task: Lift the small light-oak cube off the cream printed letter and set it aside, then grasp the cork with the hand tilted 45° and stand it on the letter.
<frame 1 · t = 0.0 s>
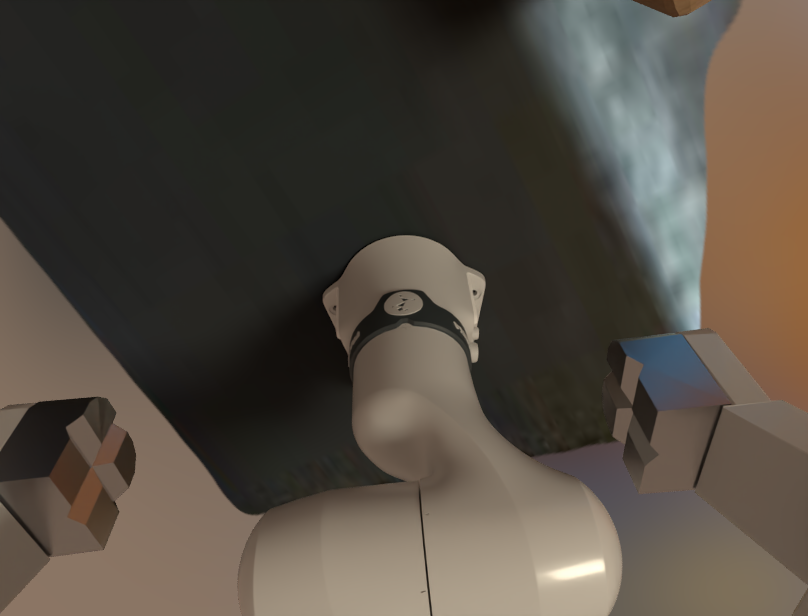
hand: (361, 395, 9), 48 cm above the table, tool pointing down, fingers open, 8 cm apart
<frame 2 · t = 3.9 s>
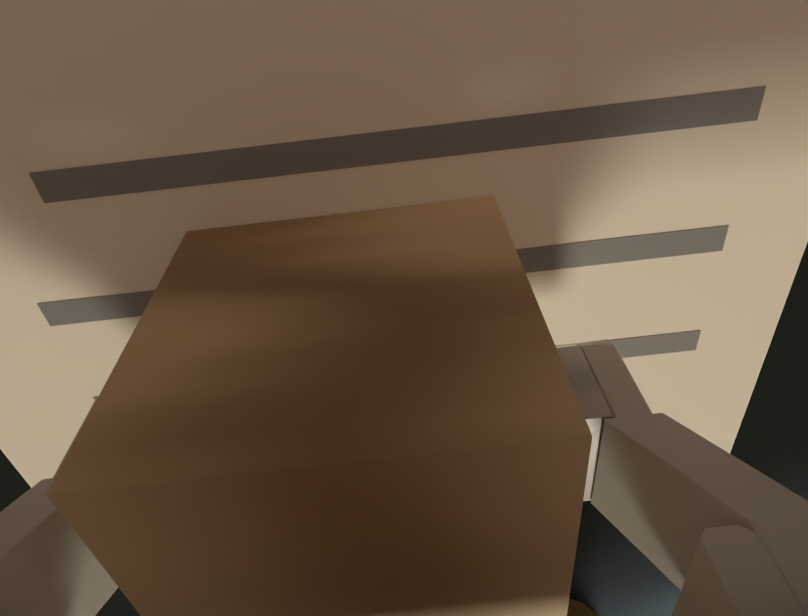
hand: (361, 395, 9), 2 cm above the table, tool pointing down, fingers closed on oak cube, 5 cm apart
letter: (362, 323, 11), on the table
oak cube: (361, 333, 11), resting on letter, touching gripper
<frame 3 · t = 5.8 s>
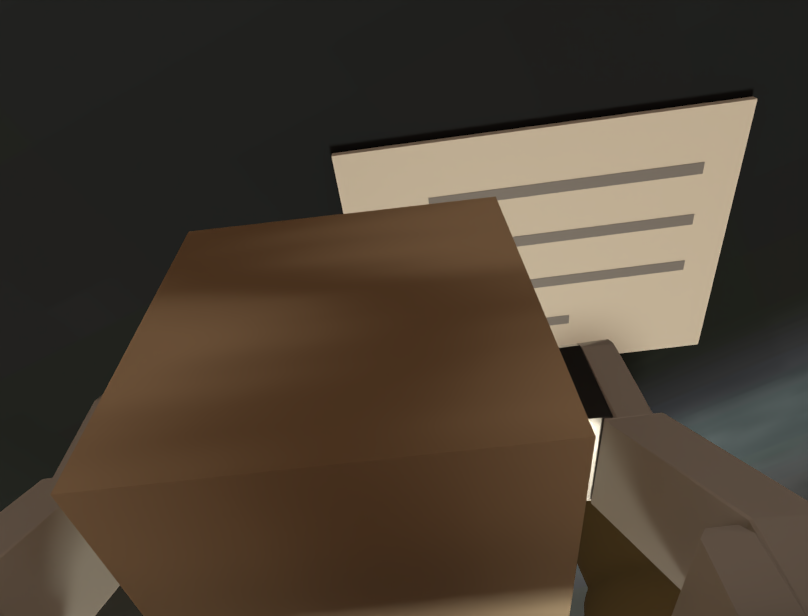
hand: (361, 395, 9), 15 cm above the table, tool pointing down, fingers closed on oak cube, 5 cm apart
letter: (536, 258, 25), on the table
oak cube: (363, 333, 11), point 13 cm above the table, touching gripper
cork: (583, 451, 34), on the table
when the fingers open (3 cm above the table, at t = 7.9 s): oak cube drops 1 cm, on the table.
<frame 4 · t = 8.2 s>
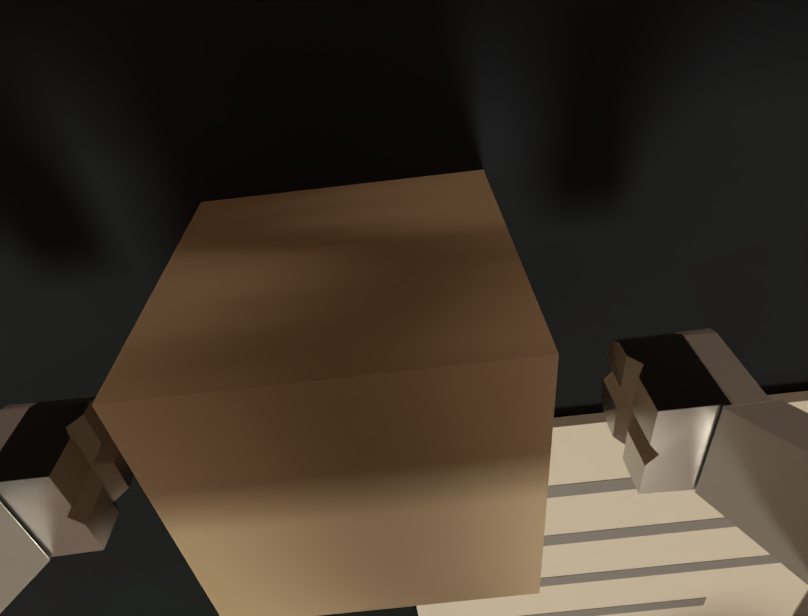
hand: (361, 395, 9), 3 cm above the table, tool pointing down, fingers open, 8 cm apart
letter: (674, 540, 17), on the table
oak cube: (361, 298, 12), on the table
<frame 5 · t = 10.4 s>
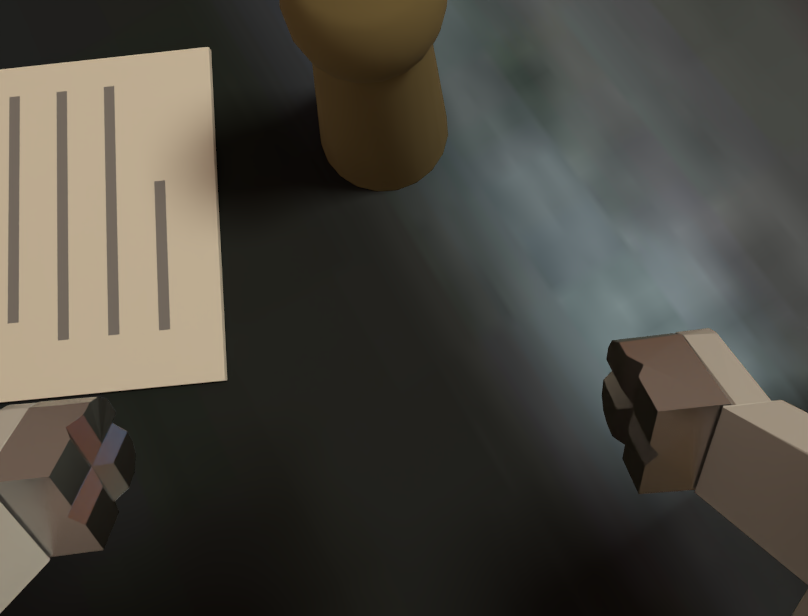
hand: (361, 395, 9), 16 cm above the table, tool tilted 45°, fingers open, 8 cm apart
letter: (91, 221, 27), on the table
cork: (384, 131, 27), on the table
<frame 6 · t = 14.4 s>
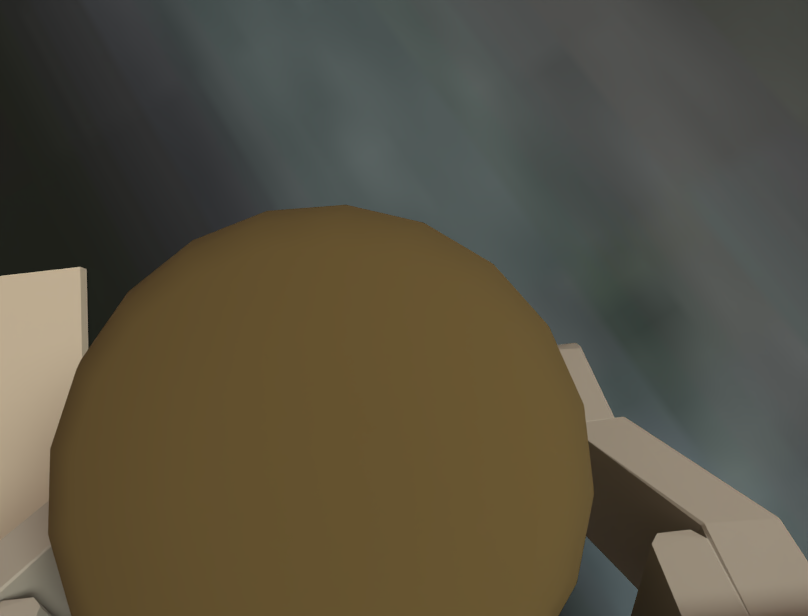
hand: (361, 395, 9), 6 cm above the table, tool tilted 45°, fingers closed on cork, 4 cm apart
cork: (388, 418, 15), on the table, touching gripper
when the fingers open (7 cm above the table, at t = 18.7 s): cork stays where it is, resting on letter.
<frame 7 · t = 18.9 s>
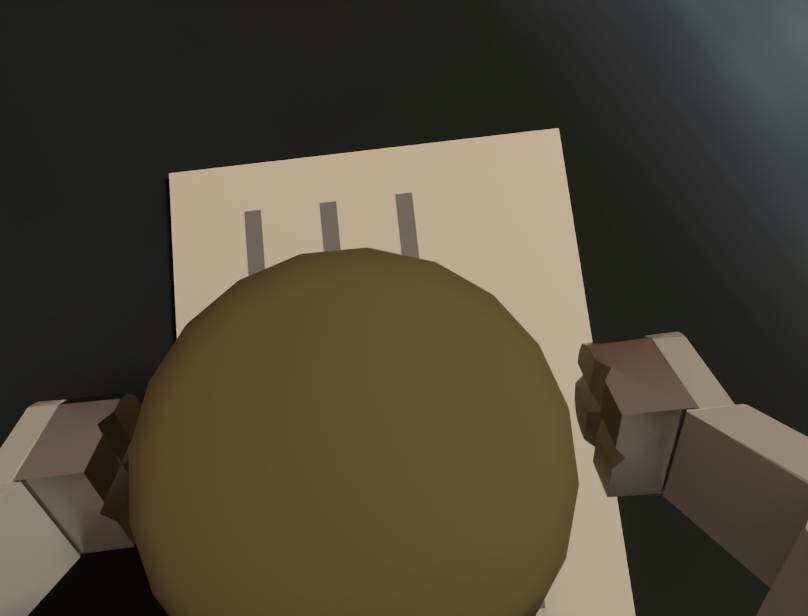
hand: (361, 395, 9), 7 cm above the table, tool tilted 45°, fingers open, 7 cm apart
letter: (390, 415, 17), on the table
cork: (395, 423, 16), resting on letter
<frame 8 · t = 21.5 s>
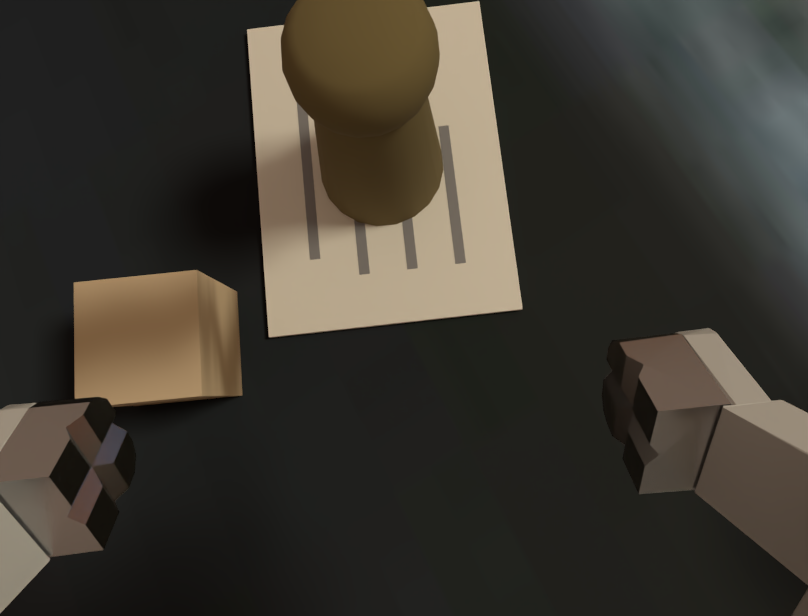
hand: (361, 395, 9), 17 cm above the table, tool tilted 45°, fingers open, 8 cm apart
letter: (378, 164, 28), on the table
oak cube: (188, 348, 27), on the table
cork: (381, 168, 28), resting on letter
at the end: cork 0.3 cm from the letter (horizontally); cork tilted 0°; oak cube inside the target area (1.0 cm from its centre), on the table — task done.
